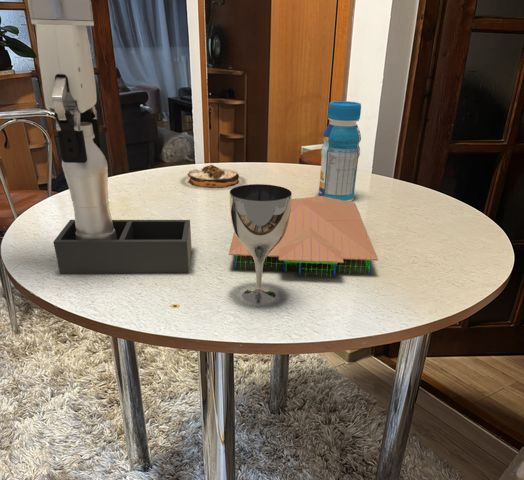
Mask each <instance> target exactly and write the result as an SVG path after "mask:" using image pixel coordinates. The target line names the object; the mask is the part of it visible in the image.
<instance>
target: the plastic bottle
mask: <svg viewBox="0 0 524 480" xmlns="http://www.w3.org/2000/svg"><path fill="white" fill-rule="evenodd" d="M80 130H83V134H84V140H85V147H86V154H87V161H86V162H85V163H65V162H63V160H62V159H61V168H62V172H63V174H64V178H65V180H66V183H67V187H68V190H69V194H70V198H71V201H72V207H73V213H74V220H75V225H76V236H75V237H76V240H118V239H117V235H116V232H115V229H114V226H113V222H112V220H113V217H112V213H111V209H110V201H109V198H110V197H109V171H108V169H109V167H108V161H107V159H106V156H105V154H104V153H103V151H102V150H101V149H100V148H98V147H97V145H96V144H95V143H94V142H93V138H95V136H94V133H93V127H92V123H88V122H80Z"/></svg>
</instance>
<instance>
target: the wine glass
mask: <svg viewBox="0 0 524 480" xmlns="http://www.w3.org/2000/svg"><path fill="white" fill-rule="evenodd" d="M292 196H293V193H292V191H291V189H288V188H286V187H283V186H280V185H274V184H261V183H253V184H252V183H251V184H244V185H239V186H235V187H233V188H231V189H230V190H229V213H230V219H231V225H232V229H233V233H234V232H235V235H236V237H237V238H238V239H239V241H240V242H241V243H242V244H243V245H244V246H245V248H246V249H247V250H248V251H249V252H250V254H251V255H252V256H251V258H252V259H253V262H255V263H254V269H255V280H256V281H255V288H250V289H246V290H244V291H243V292H242V294H241V298H242V299H243V301H245V302H247V303H251V304H261V305H262V304H267V303H271V302H273V301H274V300H275V299H277V295H276V293H275V292H273V290H270V289H266V288H263V286H262V284H263V283H262V282H263V271H264V265H265V262H266V257H267V258H268V256H267V255H268V254H269V253H270V252H271V250H272V249H273V248H274V247H275V246H276V245H277V244H278V243H279V242H280V241H281V240H282V238H283V237H284V235H285V233H286V230H287V227H288V223H289V218H290V212H291V200H292V199H293V197H292Z"/></svg>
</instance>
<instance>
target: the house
mask: <svg viewBox="0 0 524 480" xmlns="http://www.w3.org/2000/svg"><path fill="white" fill-rule="evenodd" d="M232 235H233V236H232V239H231V243H230V247H229V251H228V256H234V257H233V259H234V261H233V262H234V265H233V267H234V269H233V270H236V267H237V263H240V264H239V265H240V266H239V267H240V268H239V269H240V271H241V270H242V269H241V267H242V266H241V265H242V261H241V260H242V256H243V257H244V256H245V257H252V255H251V254H250V252H249V251H248V250H247V249H246V248H245V246H244V245H243V244H242V243H241V242H240V241H239V239H238V238H237V237H236V235H235V232H234V231H233V234H232ZM238 257H239V258H240V259H239V261H238ZM268 257H269V258H270V259H271V262H270V265H271V266H273V265H272V264H275V270H277V266H278V261H280V262H279V265H282V272H287V265H292V264H295V266H297V265H298V274H299V275H298V276H299V277H301V275H302V270H307V265H308V264H310V265H311V266H310V271H312V270H313V264H321V266H323V264H324V265H327V266H326V268H315V274H317V272H318V270H320V271H321V273H320V277H322V275H323V270H324V271H325V270H326V271H332V272H329V274H330V275H329V278H331V275H332V274H333V278H334V279H335V278H336V272H337V267H341V265H342V264H344V263H345V264H344V267H348V265H347V262H345V261H344V260H349V261H355V263H357V261H361V262H360V265H359V267H360V269H359V272H361V269H362V268H365V270H364V273H366V272H367V273H368V275H371V267H372V261H379V258H378V256H377V253H376V250H375V248H374V246H373V243H372V241H371V238H370V236H369V234H368V231H367V228H366V225H365V224H364V221H363V219H362V216H361V213H360V212H359V209H358V207H357V204H356V202H353V201H350V202H349V201H344V200H339V199H334V198H329V197H324V196H318V195H317V196H311V197H301V198H292V200H291V212H290V218H289V223H288V227H287V230H286V233H285V235H284V237H283V238H282V240H281V241H280V242H279V243H278V244H277V245H276V246H275V247H274V248H273V249H272V250H271V252H270V253H269V254H268V255H267V257H266V259H265V264H268V261H267V258H268ZM272 258H278V261H276V262H273V261H272ZM363 261H364V263H365V266H364V265H363V266H362V262H363ZM338 263H339V264H338ZM244 264H245V267H244V268H245V269H244V270H245V271H246V270H247V261H244ZM250 264H255V262H254V261H250ZM302 264H305V267H303V268H302ZM329 265H330V269H329V268H328V267H329ZM351 267H354V270H356V268H357V265H352V263H350V265H349V269H351ZM340 271H341V269H339V271H338V274H340ZM345 273H346V270H344V272H343V274H345ZM306 275H307V274H304V277H307V276H306ZM349 275H351V271H349ZM325 277H326V278H327V277H328V274H326V276H325Z"/></svg>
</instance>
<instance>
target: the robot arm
mask: <svg viewBox="0 0 524 480" xmlns="http://www.w3.org/2000/svg"><path fill="white" fill-rule="evenodd" d="M26 1H27V7H28V12H29V16H30V21H31V25H36V26H35V27H36V29H35V30H36V31H35V32H36V43H37V44H36V46H37V54H38V63H39V71H40V78H41V85H42V92H43V99H44V105H45V108H46V110H47V111H48V112H49V113H53V117H54V119H55V128H56V129H55V130H56V132H57V139H58V143H59V150H60V155H61V161H62V160H63V162H65V163H85V162H86V161H87V154H86V147H85V140H84V134H83V130H80V122H88V123H92V127H93V133H94V136H95V138H93V142H94V143H95V144H96V145H97V147H98V148H99V149H100V148H101V147H102V139H101V132H100V126H99V125H100V124H99V118H98V111H97V109H96V105H97V100H98V98H97V95H98V94H97V84H96V77H95V70H94V69H95V68H94V63H93V58H92V51H91V45H90V44H91V43H90V40H89V39H90V38H89V33H88V29H87V27H94V26H95V22H94V14H93V6H92V5H93V4H92V0H26Z"/></svg>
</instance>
